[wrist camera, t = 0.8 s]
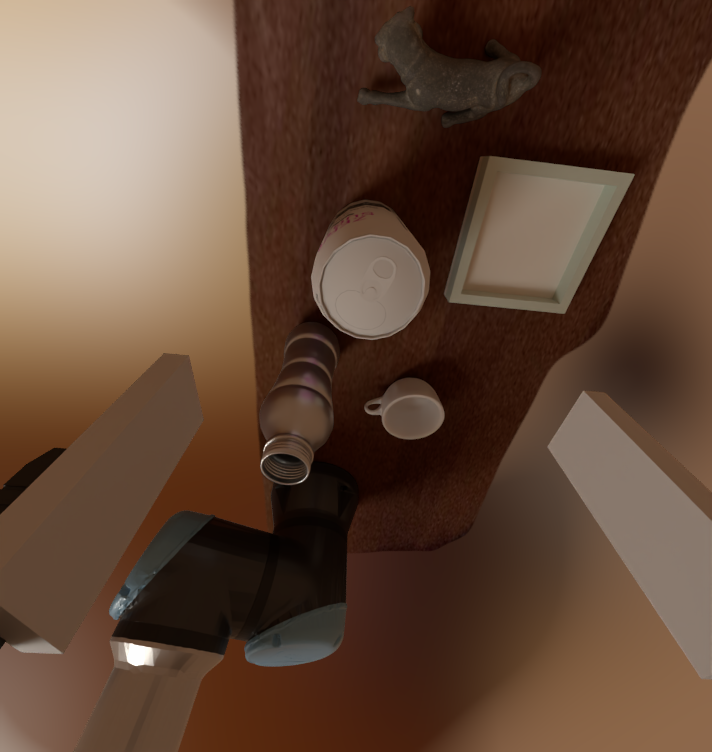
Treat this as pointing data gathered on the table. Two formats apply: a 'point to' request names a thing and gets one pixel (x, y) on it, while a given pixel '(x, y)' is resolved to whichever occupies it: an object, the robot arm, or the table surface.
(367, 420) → the table surface
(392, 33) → the dog figurine
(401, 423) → the teacup
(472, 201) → the can tray
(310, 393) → the plastic bottle
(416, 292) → the supplement can
